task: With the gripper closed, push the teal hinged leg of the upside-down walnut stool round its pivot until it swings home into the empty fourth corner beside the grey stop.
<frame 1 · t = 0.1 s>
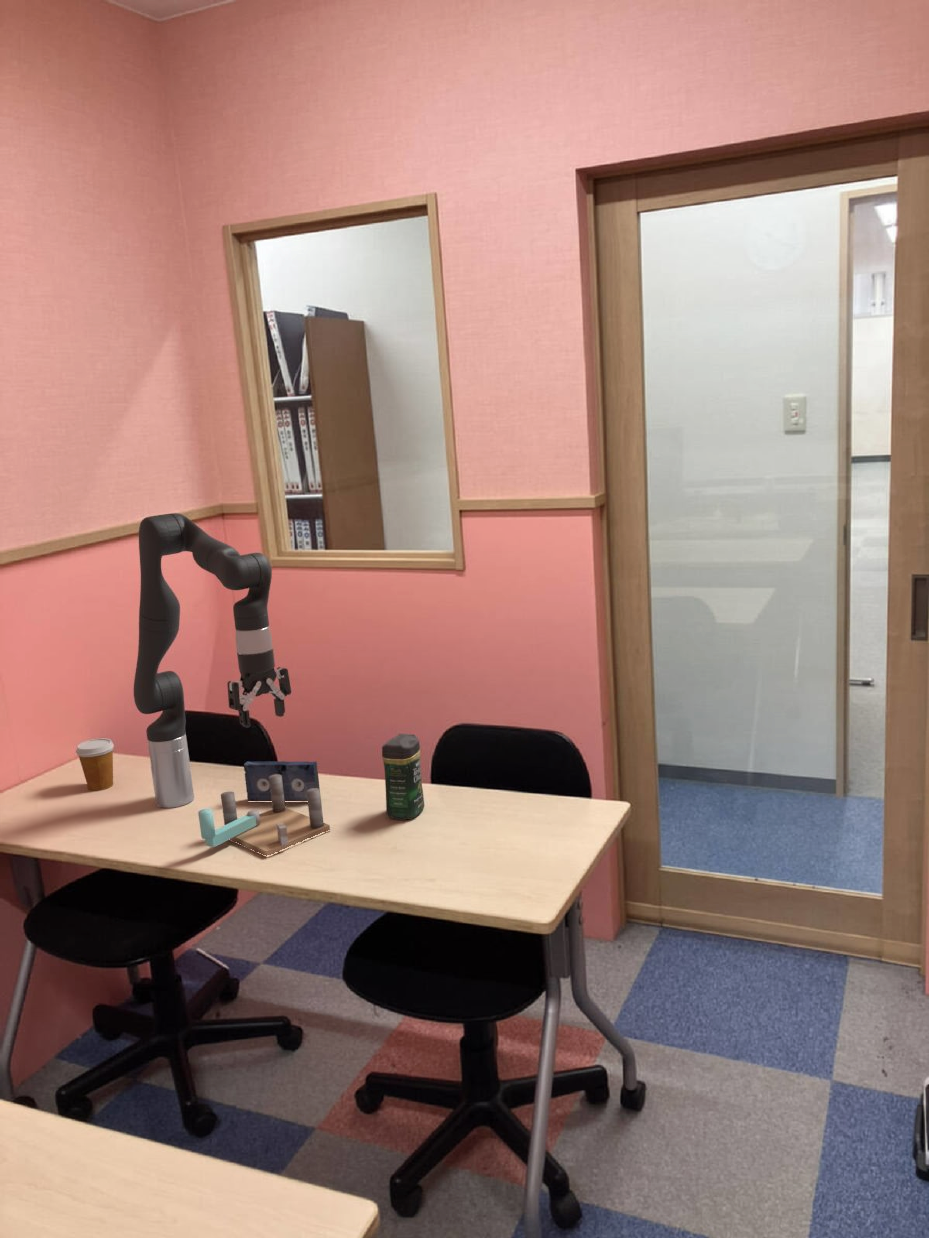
hand: (263, 721, 216), 29 cm above the table, tool pointing down, fingers open, 8 cm apart
vhs cassette tape: (284, 801, 249), on the table
coffee jar: (406, 813, 236), on the table
hinged leg: (230, 817, 225), point 6 cm above the table, hinge at -60.0°
stool seat: (275, 833, 229), on the table
disposable coffee cup: (101, 787, 267), on the table
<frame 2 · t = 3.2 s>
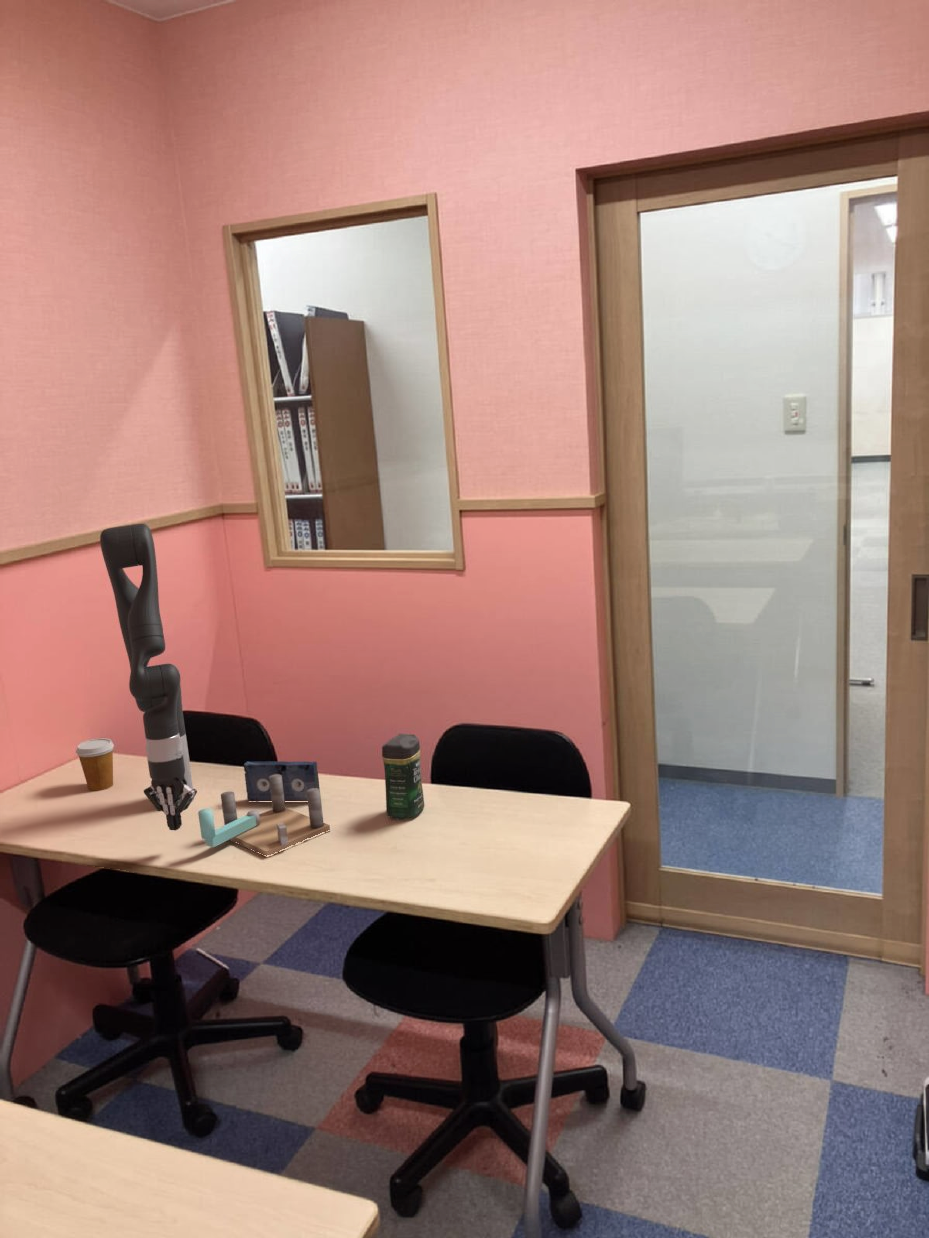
hand: (175, 828, 222), 5 cm above the table, tool pointing down, fingers closed
nothing on the table moved.
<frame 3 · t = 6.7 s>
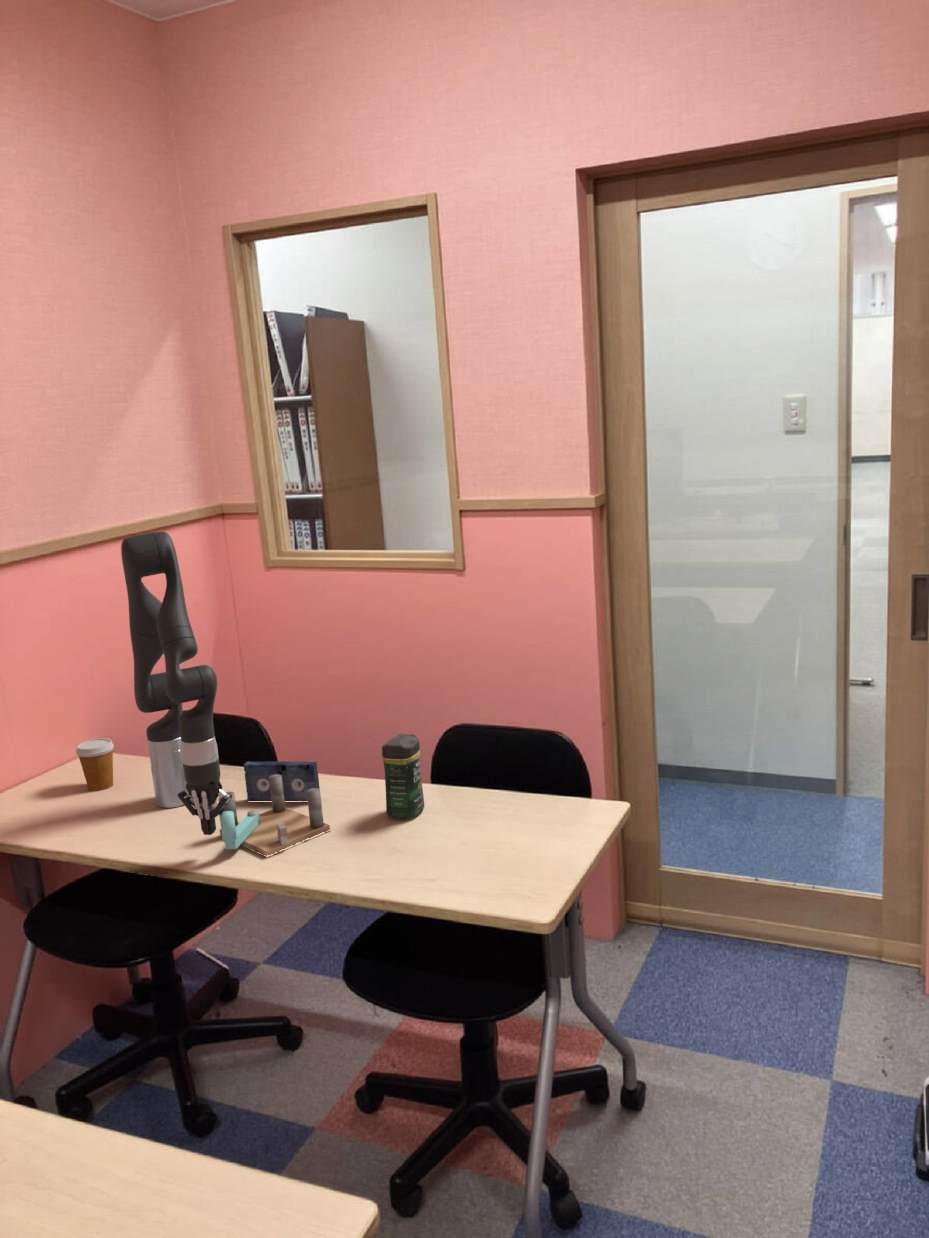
hand: (209, 833, 219), 5 cm above the table, tool pointing down, fingers closed
hinged leg: (240, 819, 224), point 6 cm above the table, hinge at -35.7°, touching hand
everything else where it was.
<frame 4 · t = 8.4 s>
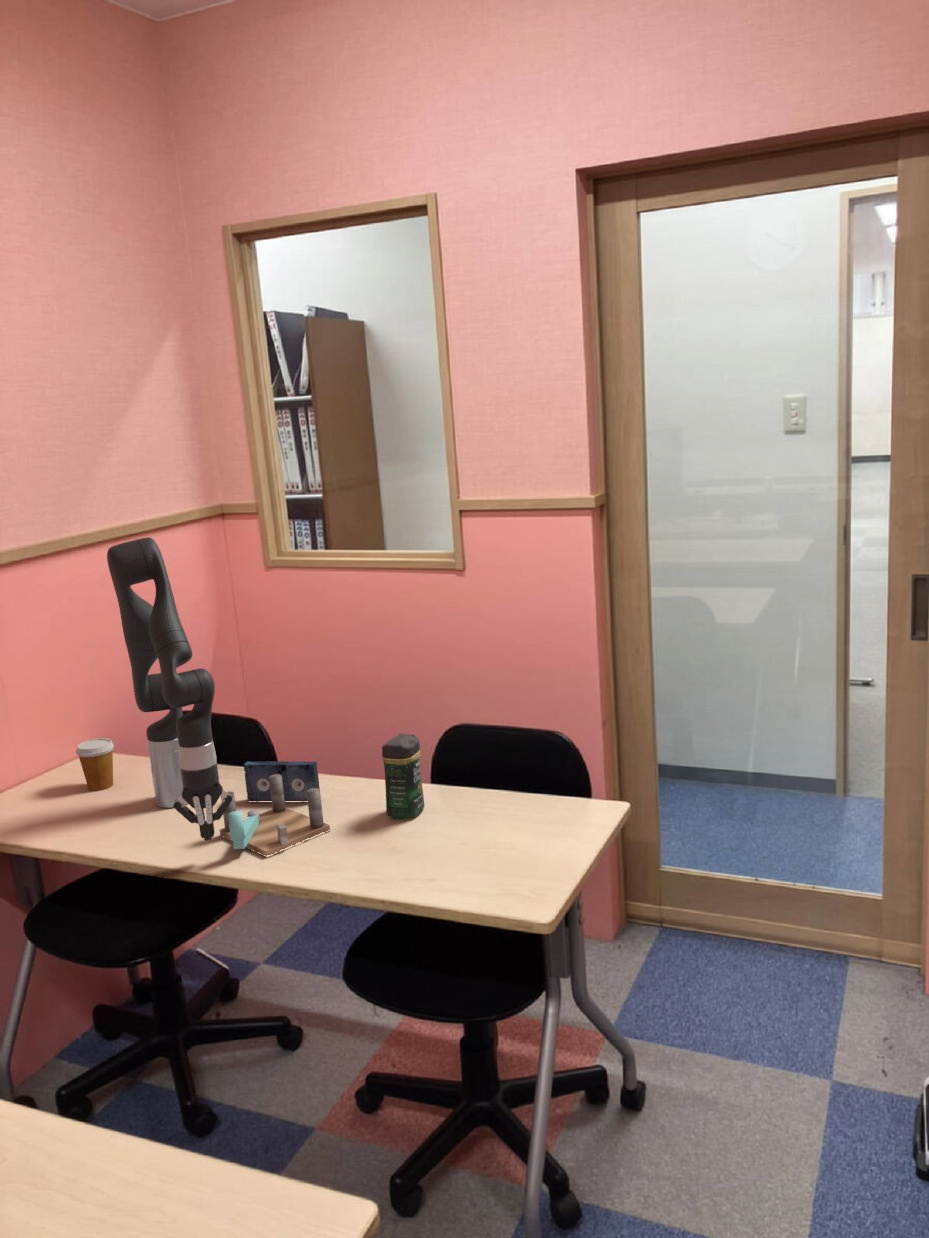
hand: (208, 838, 217), 5 cm above the table, tool pointing down, fingers closed
hinged leg: (244, 818, 224), point 6 cm above the table, hinge at -27.7°
everything else where it was.
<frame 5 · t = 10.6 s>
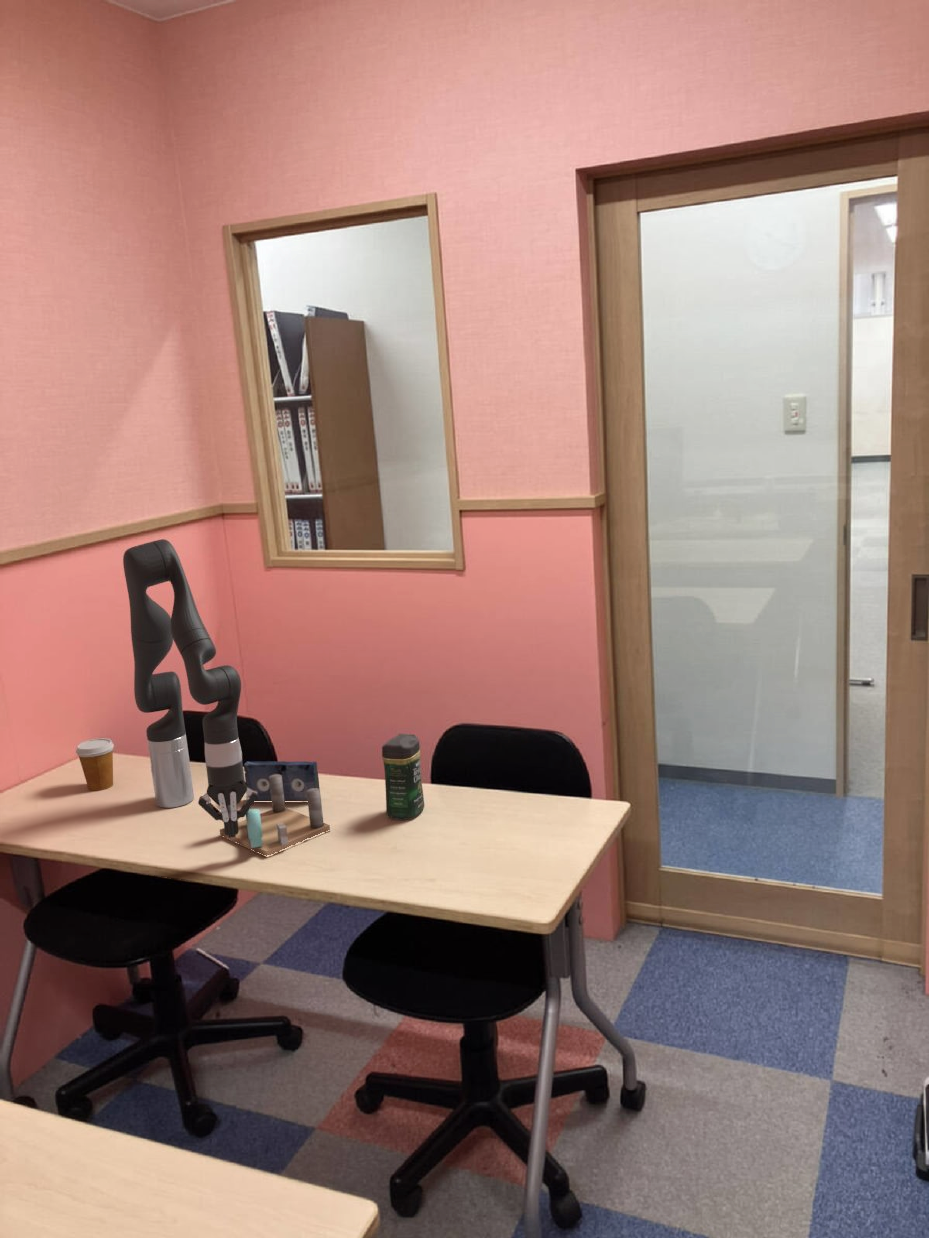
hand: (232, 835, 217), 5 cm above the table, tool pointing down, fingers closed
hinged leg: (253, 818, 224), point 6 cm above the table, hinge at -11.3°, touching hand
everything else where it was.
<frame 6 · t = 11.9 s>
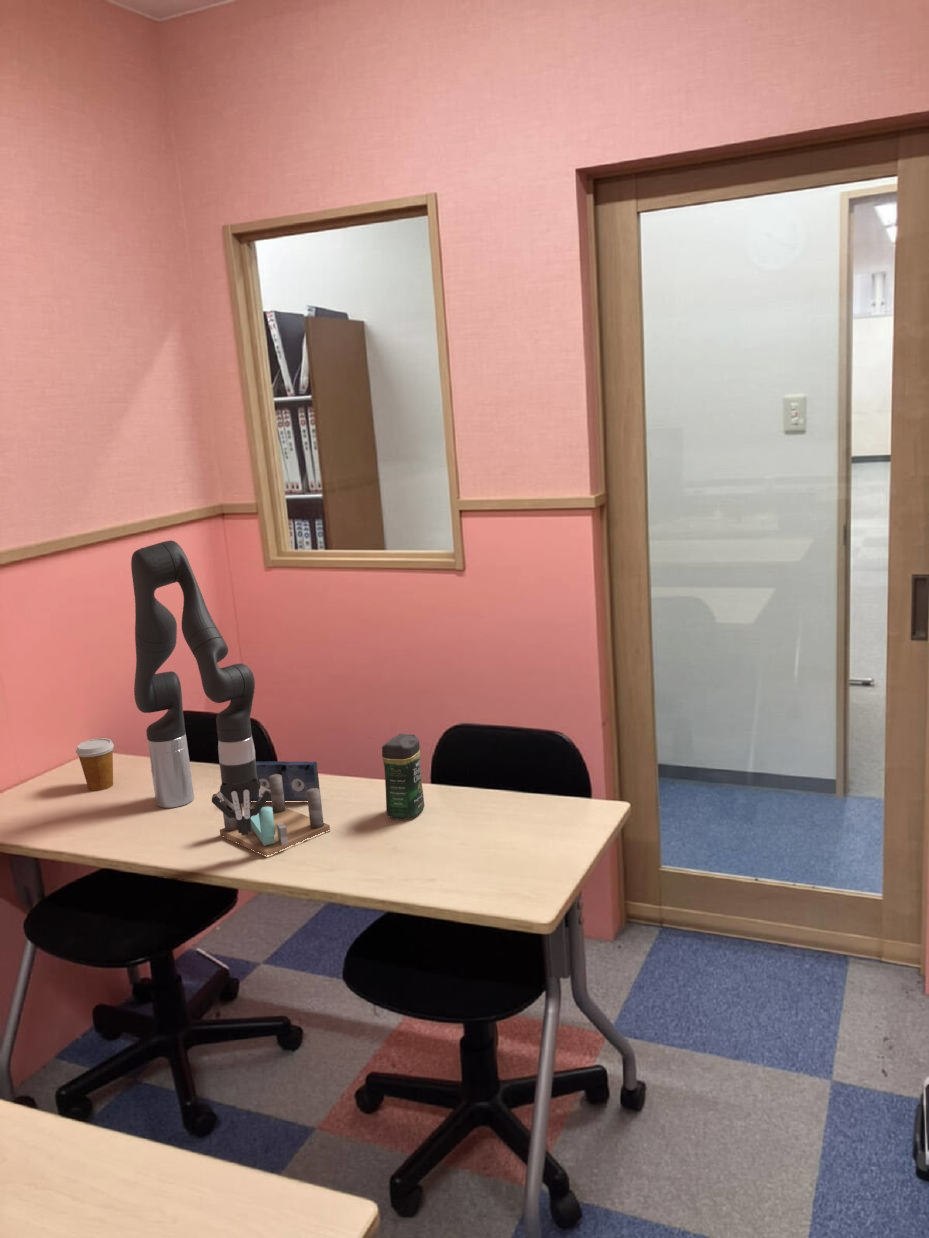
hand: (245, 833, 217), 5 cm above the table, tool pointing down, fingers closed
hinged leg: (259, 816, 224), point 6 cm above the table, hinge at 0.5°, touching hand
everything else where it was.
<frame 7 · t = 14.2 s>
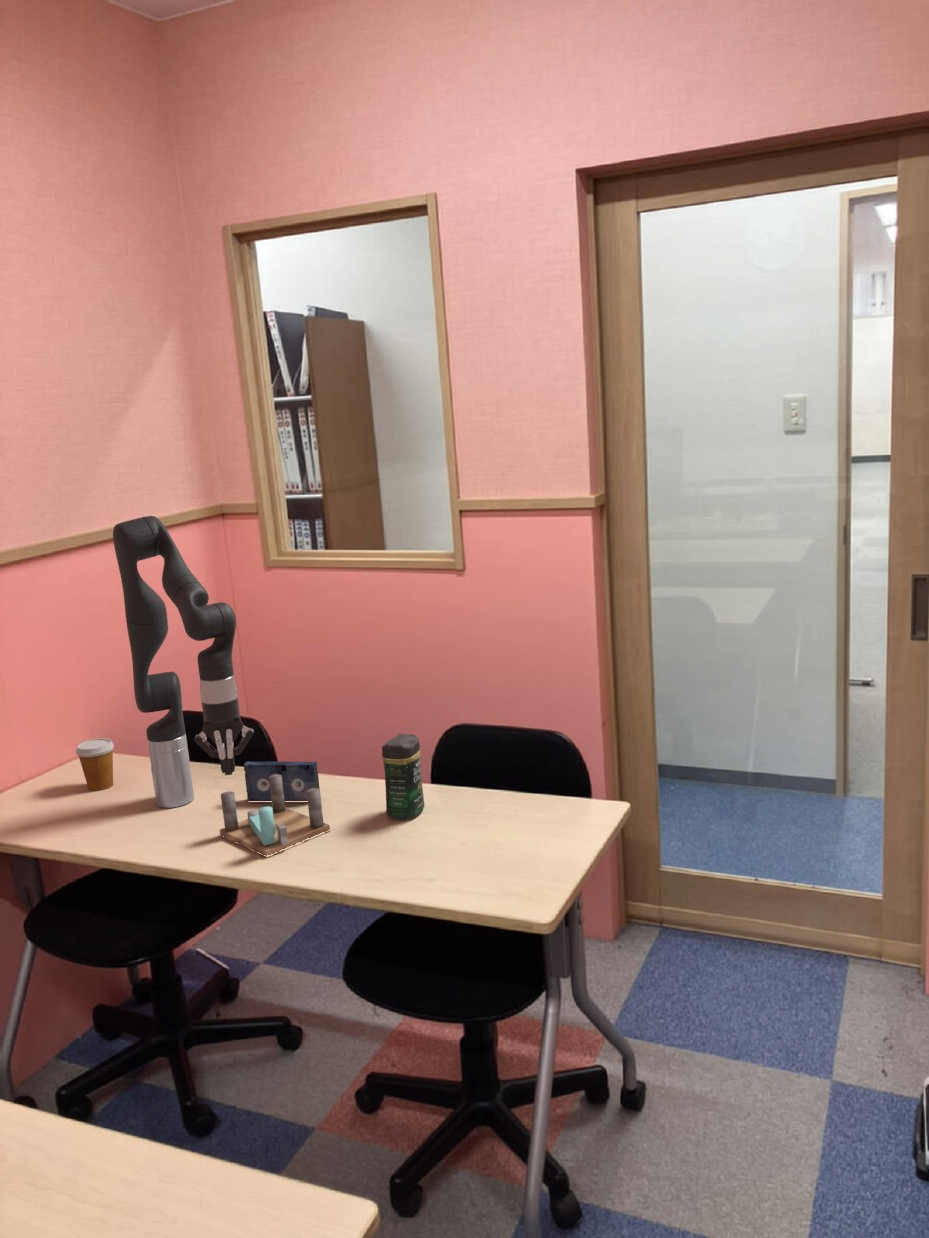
hand: (229, 773, 217), 18 cm above the table, tool pointing down, fingers closed
hinged leg: (259, 816, 224), point 6 cm above the table, hinge at 0.6°
everything else where it was.
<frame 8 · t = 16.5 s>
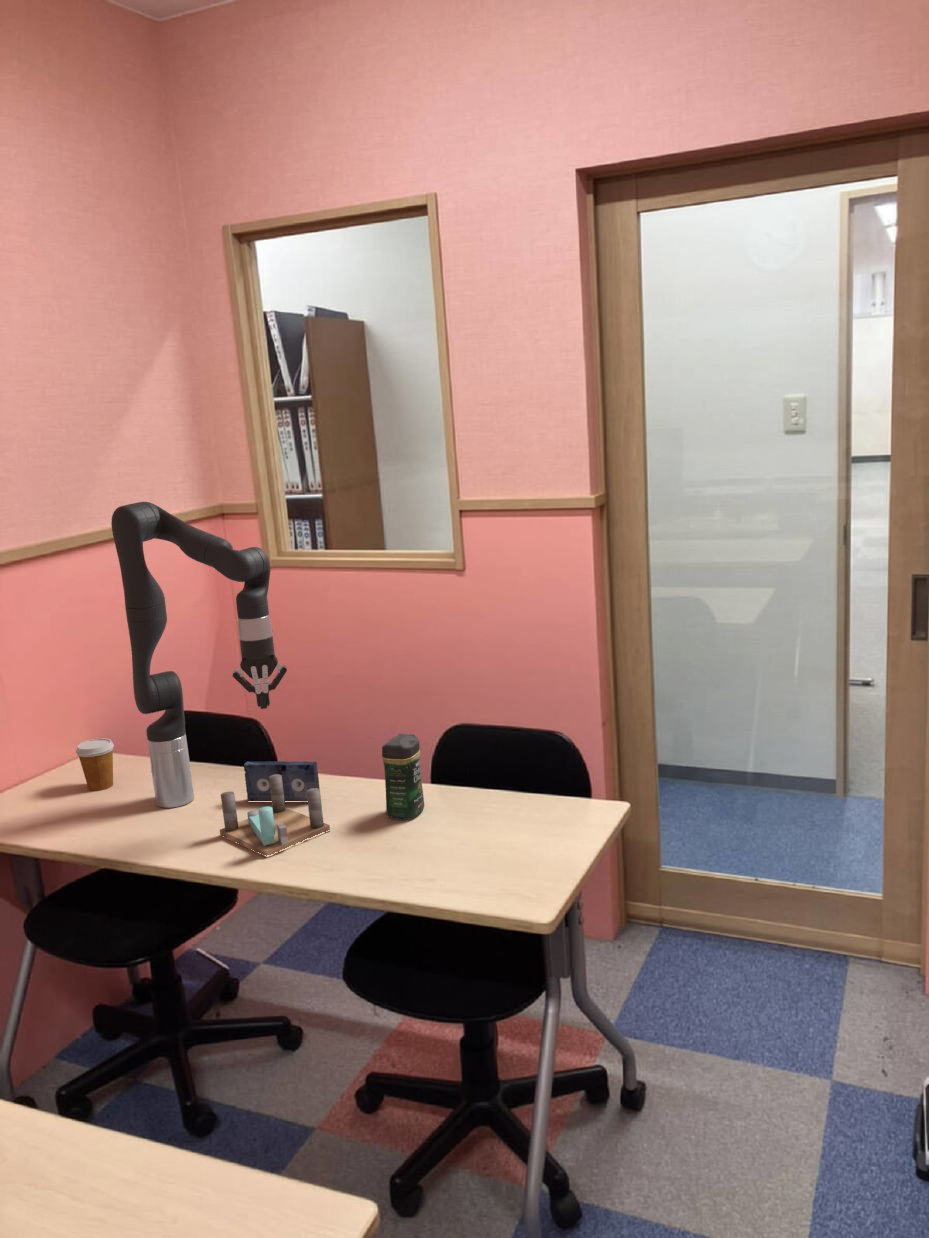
hand: (264, 707, 233), 27 cm above the table, tool pointing down, fingers closed
nothing on the table moved.
at the end: hinged leg at +1° (first picture: -60°); hinged leg touching nothing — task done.
